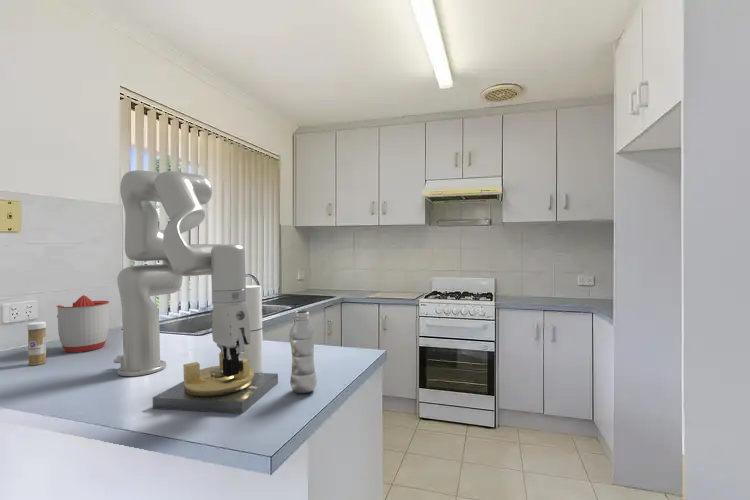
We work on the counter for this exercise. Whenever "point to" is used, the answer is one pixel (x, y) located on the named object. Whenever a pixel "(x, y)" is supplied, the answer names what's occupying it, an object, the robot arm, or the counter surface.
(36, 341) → the sprinkles bottle
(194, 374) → the gold tabbed disc
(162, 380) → the counter surface
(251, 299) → the cylindrical container
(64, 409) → the counter surface
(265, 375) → the base plate
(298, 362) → the plastic bottle
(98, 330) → the citrus juicer
